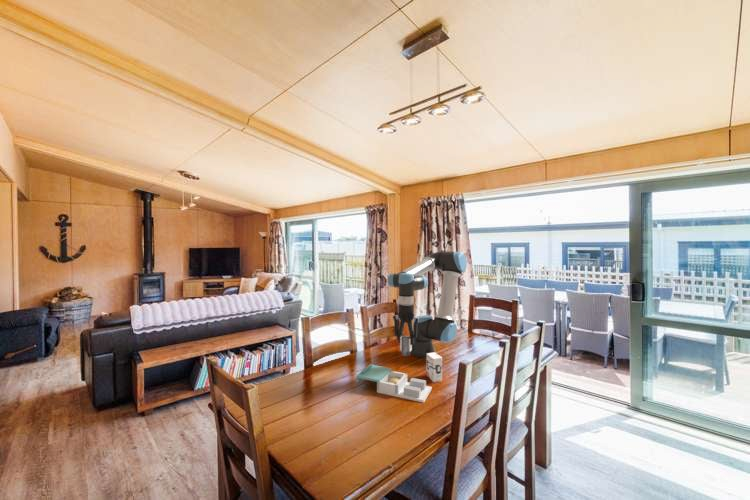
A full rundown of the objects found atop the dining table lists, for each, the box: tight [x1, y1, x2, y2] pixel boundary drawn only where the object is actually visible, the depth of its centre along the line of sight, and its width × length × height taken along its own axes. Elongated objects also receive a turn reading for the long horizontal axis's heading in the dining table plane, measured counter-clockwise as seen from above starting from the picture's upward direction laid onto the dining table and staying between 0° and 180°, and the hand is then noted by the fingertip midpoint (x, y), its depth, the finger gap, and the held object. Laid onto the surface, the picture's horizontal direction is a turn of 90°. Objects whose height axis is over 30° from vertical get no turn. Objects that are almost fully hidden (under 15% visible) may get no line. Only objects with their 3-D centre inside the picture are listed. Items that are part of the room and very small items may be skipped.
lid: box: [355, 363, 392, 383], centre depth 152 cm, size 15×12×4 cm
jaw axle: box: [401, 335, 411, 357], centre depth 159 cm, size 4×4×9 cm
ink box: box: [425, 351, 443, 383], centre depth 159 cm, size 8×5×12 cm, turn 17°
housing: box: [376, 370, 433, 404], centre depth 145 cm, size 14×22×5 cm, turn 66°
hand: (405, 350), depth 159 cm, fingers closed on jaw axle, 4 cm apart
